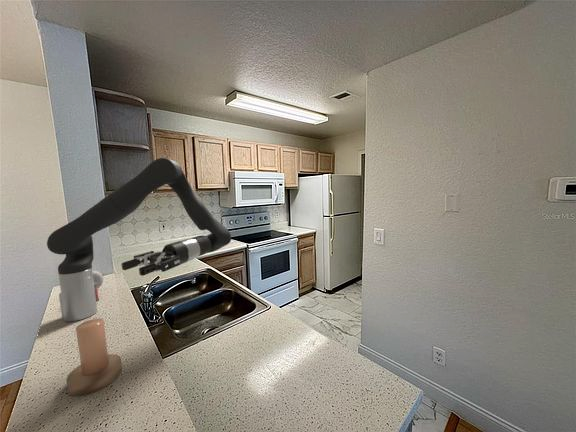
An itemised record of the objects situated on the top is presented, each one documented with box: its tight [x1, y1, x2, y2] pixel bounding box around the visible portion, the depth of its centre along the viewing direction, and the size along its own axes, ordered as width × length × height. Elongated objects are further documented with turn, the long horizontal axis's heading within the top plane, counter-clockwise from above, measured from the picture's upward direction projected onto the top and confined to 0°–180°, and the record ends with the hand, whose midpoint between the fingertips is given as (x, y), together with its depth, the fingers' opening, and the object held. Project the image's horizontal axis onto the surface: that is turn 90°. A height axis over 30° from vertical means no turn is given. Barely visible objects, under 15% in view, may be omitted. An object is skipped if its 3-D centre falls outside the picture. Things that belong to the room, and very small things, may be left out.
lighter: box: [93, 278, 100, 303], centre depth 101 cm, size 8×3×10 cm, turn 62°
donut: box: [92, 270, 104, 290], centre depth 111 cm, size 10×3×10 cm, turn 140°
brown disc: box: [66, 353, 123, 397], centre depth 56 cm, size 10×10×2 cm
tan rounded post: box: [75, 318, 109, 376], centre depth 56 cm, size 5×5×11 cm
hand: (131, 269), depth 64 cm, fingers open, 8 cm apart
